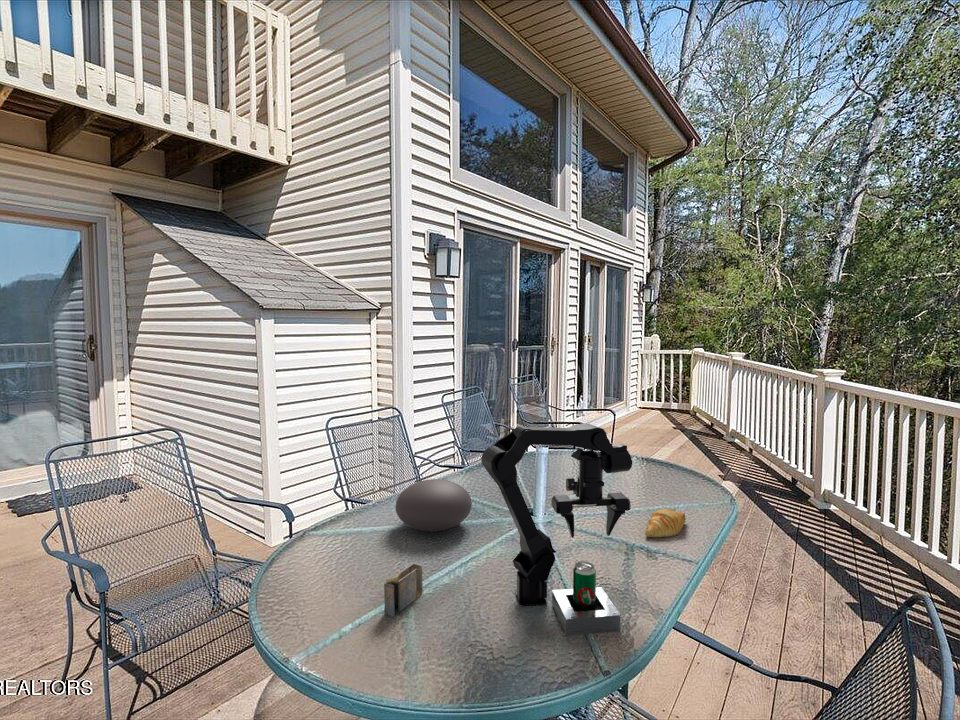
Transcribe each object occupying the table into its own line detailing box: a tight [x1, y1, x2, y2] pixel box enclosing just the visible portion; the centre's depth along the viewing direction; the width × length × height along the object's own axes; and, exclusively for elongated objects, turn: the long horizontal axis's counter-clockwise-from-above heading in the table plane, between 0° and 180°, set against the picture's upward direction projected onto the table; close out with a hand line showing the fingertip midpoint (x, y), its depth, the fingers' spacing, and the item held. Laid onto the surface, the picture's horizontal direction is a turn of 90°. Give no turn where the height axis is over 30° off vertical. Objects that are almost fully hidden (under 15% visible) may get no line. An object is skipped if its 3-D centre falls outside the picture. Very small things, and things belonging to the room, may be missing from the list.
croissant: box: [644, 508, 687, 538], centre depth 165 cm, size 21×10×8 cm, turn 130°
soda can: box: [572, 560, 597, 612], centre depth 117 cm, size 5×5×12 cm
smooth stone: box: [394, 478, 473, 533], centre depth 169 cm, size 25×25×15 cm
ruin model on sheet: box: [383, 562, 424, 617], centre depth 123 cm, size 11×3×10 cm, turn 151°
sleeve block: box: [551, 586, 621, 636], centre depth 117 cm, size 12×12×4 cm
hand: (590, 536), depth 130 cm, fingers open, 9 cm apart
